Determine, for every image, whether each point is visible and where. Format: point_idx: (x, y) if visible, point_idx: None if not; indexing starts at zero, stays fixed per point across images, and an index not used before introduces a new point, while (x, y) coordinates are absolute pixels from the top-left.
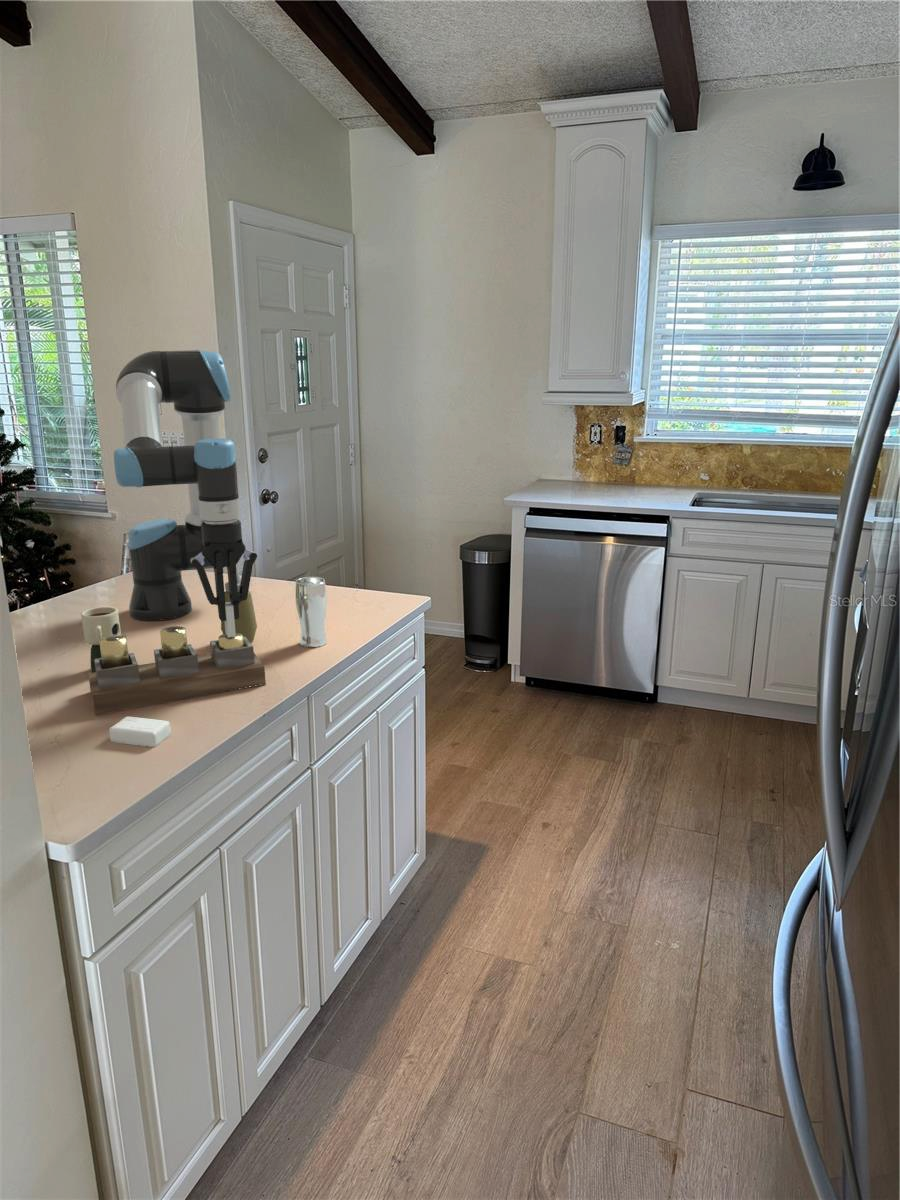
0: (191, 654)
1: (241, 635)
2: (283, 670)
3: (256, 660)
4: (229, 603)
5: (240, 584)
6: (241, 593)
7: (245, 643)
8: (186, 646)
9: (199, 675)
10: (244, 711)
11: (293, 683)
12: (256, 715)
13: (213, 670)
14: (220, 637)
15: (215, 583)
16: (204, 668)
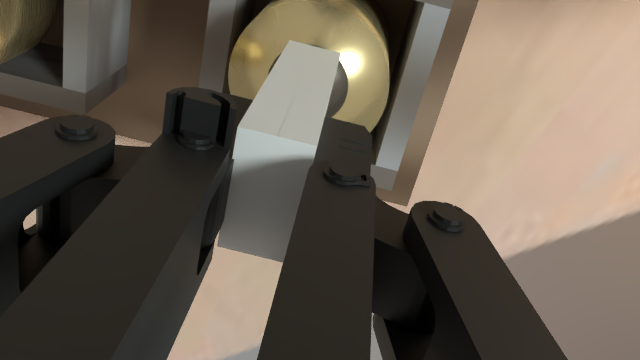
0: (66, 54)
1: (373, 111)
2: (559, 77)
3: (418, 121)
4: (290, 180)
5: (450, 315)
6: (388, 338)
7: (396, 91)
8: (18, 48)
9: (119, 114)
10: (234, 299)
11: (494, 221)
12: (253, 341)
13: None
14: (245, 54)
15: (56, 262)
16: (163, 49)
